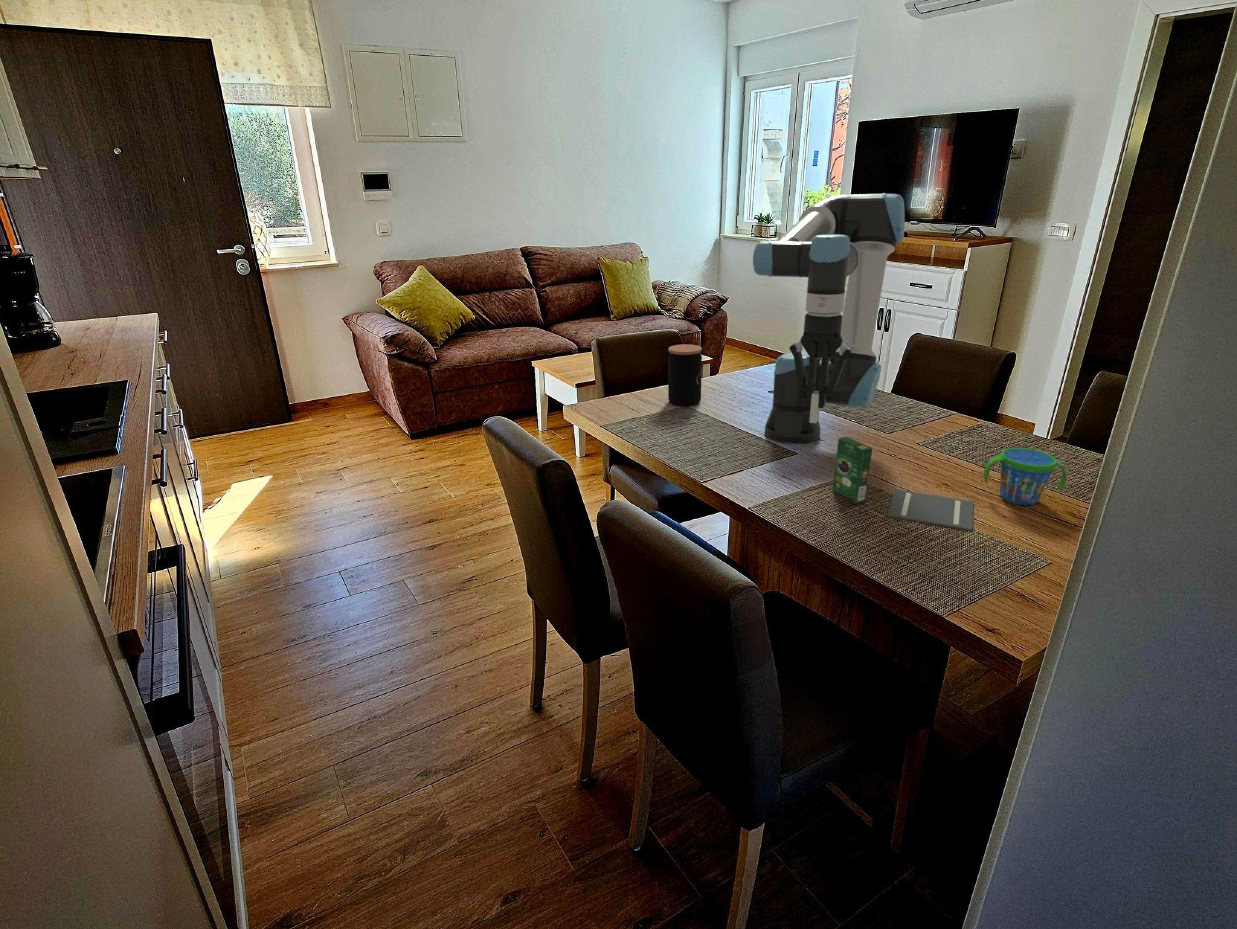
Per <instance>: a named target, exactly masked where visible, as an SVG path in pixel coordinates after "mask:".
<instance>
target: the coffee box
mask: <svg viewBox="0 0 1237 929" xmlns="http://www.w3.org/2000/svg"><path fill="white" fill-rule="evenodd" d="M836 451H837V452H836V455H835V456H836V458H835V465H834V473H833V481H832V482H833V483H832V492H835V493H836V494H837V495H839V496H842V497H844V498H846V500H849V501H850V502H852V503H855V504H859V503H863V502H865V500H866V493H867V487H868V481H869V480H868V479H869V474H870V466H871V461H872V455H873V454H872V453H873V447H870V446H869V445H866V444H864V443H862V442H860V441H857V440H856V439H855V438H854V439H853V438H851V437H849V436H843V437H839V438H838V441H837V450H836Z"/></svg>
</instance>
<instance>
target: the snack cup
mask: <svg viewBox="0 0 1237 929" xmlns="http://www.w3.org/2000/svg"><path fill="white" fill-rule="evenodd" d="M997 462H1000V465H1001V466H1000V478H999V479H1000V482H999V483H1000V484H999V485H1000V486H999V494H1000V495H999V496H1000V497H1001V498H1002V499H1003V500H1005V501H1007V502H1010V503H1012V504H1014V505H1023V506H1025V505H1030V506H1034V505H1035V504H1037V503H1038V502H1040V500H1041V498H1042V495H1043V493H1044V491H1045V489H1046V486H1047V483H1048V481H1049V480H1050V477H1051V475H1052V473H1054V471H1055V470H1056V467H1060V468H1061V469H1062V475H1061V476H1060V479H1059V481H1058V484H1057V487H1058V489H1059V490H1063V489H1064V488H1065V486H1066V483H1067V477H1068V476H1067V475H1068V474H1067V469H1066V467H1065V466H1064V465H1063V463H1061V461H1060V460H1057V458H1056V457H1054V456H1053V455H1051V454H1049V453H1047V452H1043V451H1040V450H1036V449H1030V448H1024V447H1023V448H1021V447H1013V448H1012V447H1011V448H1006V449H1005V448H1004V449H1003V450H1002V451H1001V452H1000V453H999V454H998V455H995V456H993V457H992V458H991V459H990V460H989V461H988V462H987V463H986V465H985V467H984V470H983V480H984V483H985V484H988V483H989V482H988V479H989V475H990V471H991V467H992V465H994V464H995V463H997Z"/></svg>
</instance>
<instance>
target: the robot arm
mask: <svg viewBox="0 0 1237 929" xmlns="http://www.w3.org/2000/svg"><path fill="white" fill-rule="evenodd" d="M905 212H906V211H905V201H904V198H903V197H902V196H901V195H900V194H898V193H897V194H896V193H885V192H883V193H866V194H865V193H863V194H861V193H859V194H855V193H854V194H838V195H837V194H836V195H833V196H830V197H827V198H824V199H822V200H820V201H817V202H816V203H814V204H812V205H811V206H809V207H808V208H806V209H805V210H804V211H803V212H802V214H801V215H800V217H799V219H798V221H797V222H796V223H795V224H794V225H792V227H790V228H789V229H788V230H787V231H785V232H784V234H782V235H781V236H780V237H779V238H777V239H776V240H769V239H768V240H764V241H763V240H762V241H758V243H757V244H756V245H755V247H754V249H753V254H752V266H753V271H754V272H755V274H756V275H758V276H763V277H764V276H765V277H769V278H771V277H784V278H785V277H786V278H787V277H788V278H807V287H806V289H807V290H806V296H805V297H806V298H805V311H806V313H805V315H804V323H803V334H802V336H801V337H800V340H799V341H797V342H796V343H792V344H791V345H790V346H789V348H788V349H789V351H790V352H787V353H783V354H781V355H780V356H778V357H777V358H776V360H775V366H774V371H773V374H774V376H773V377H774V378H773V391H772V393H773V394H772V395H773V397H772V407H771V410H770V413H769V415H768V417H767V420H766V422H765V425H764V435H765V436H766V437H767V439H770V440H772V441H776V442H780V443H784V444H809V443H812V442H815V441H817V440H819V438H820V437H821V425H820V421H819V420H820V410H821V409H823V408H824V407H825V406H826V404H828V405H829V404H831V405H839V406H845V407H846V406H847V407H848V408H849V407H858V408H859V407H860V408H861V407H862V408H863V407H867V406H868V405H869V404H870V403H871V402H872V400H873V398H874V396H875V393H876V390H877V387H878V385H879V384H878V383H879V381H880V377H881V372H882V365H881V364H880V363H879V362H877V355H876V353H874V351H873V343H874V337H875V331H876V326H877V319H878V315H879V314H878V312H879V309H880V308H879V307H880V302H881V296H882V289H883V284H884V280H885V279H884V278H885V273H886V272H885V271H886V267H887V261H888V257H889V256H890V255H891V254H892V253H894V252H895V250H896V245H897V244H900V243H902V242H903V241H904V236H905V228H906V227H905V222H906V221H905V218H906V217H905V214H906V213H905ZM847 277H848V279H847ZM846 282H847V283H846ZM846 284H847V286H846ZM841 313H842V314H841ZM803 349H804V350H803Z"/></svg>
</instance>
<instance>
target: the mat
mask: <svg viewBox="0 0 1237 929" xmlns="http://www.w3.org/2000/svg"><path fill="white" fill-rule="evenodd" d="M892 495H893V496H892V499H891V502H890V504H889V508H888V513H887V518H893V519H899V520H904V521H905V520H906V521H910V522H917V523H923V524H927V525H934V526H941V527H946V528H951V529H957V530H964V531H969V532H973V526H974V525H973V524H974V523H973V519H974V518H973V516H974V501H973V500H966V499H960V498H954V497H948V496H940V495H934V494H928V493H921V492H913V491H907V490H902V489H894V491H893V494H892Z"/></svg>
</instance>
